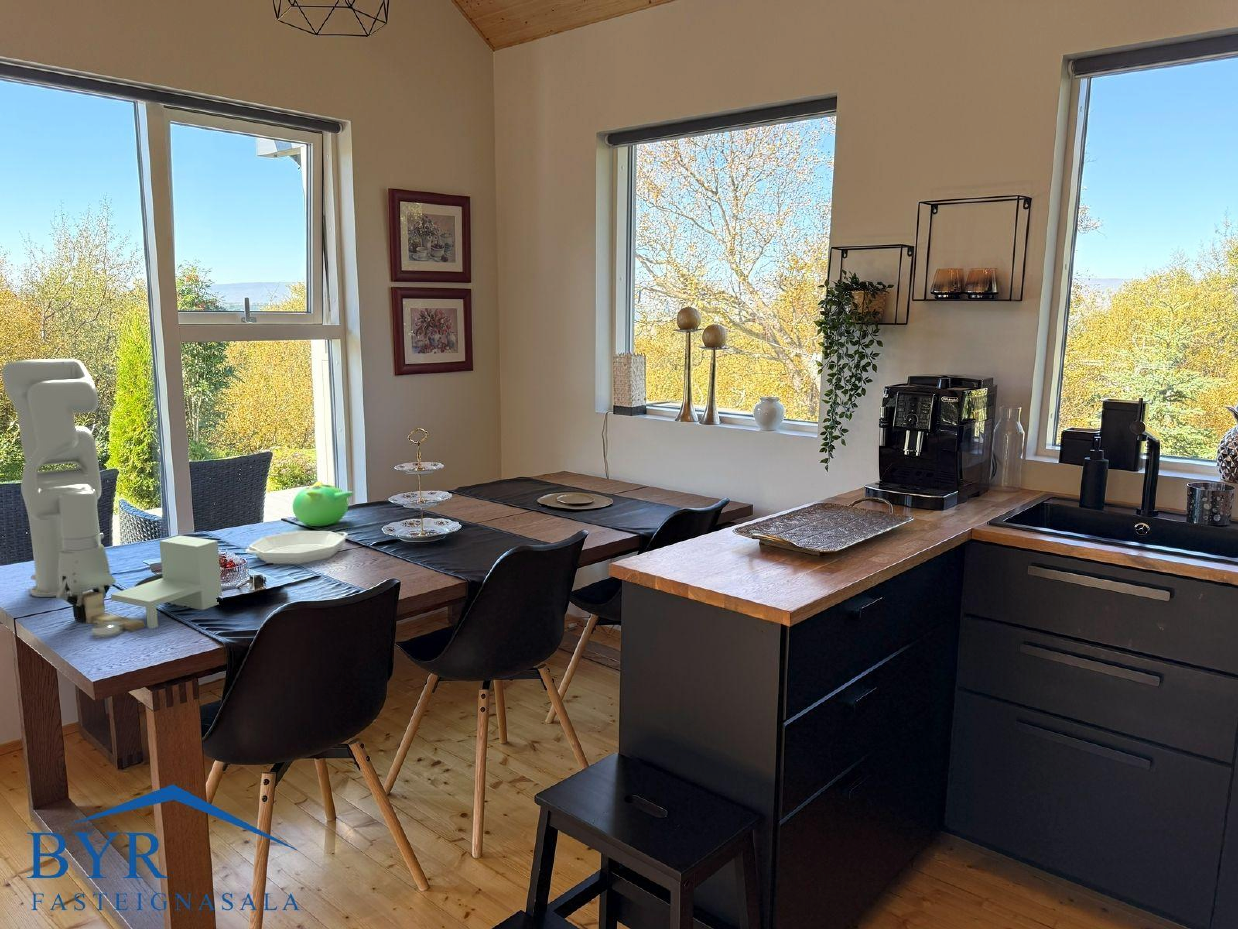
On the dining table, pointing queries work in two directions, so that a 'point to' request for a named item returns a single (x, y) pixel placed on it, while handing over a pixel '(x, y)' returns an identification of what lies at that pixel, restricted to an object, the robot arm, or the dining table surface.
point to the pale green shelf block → (180, 578)
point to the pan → (297, 547)
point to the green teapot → (321, 504)
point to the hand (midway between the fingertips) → (89, 616)
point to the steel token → (107, 629)
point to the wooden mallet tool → (98, 615)
